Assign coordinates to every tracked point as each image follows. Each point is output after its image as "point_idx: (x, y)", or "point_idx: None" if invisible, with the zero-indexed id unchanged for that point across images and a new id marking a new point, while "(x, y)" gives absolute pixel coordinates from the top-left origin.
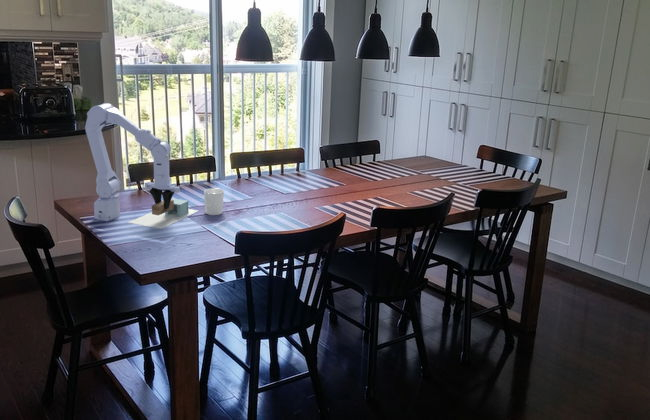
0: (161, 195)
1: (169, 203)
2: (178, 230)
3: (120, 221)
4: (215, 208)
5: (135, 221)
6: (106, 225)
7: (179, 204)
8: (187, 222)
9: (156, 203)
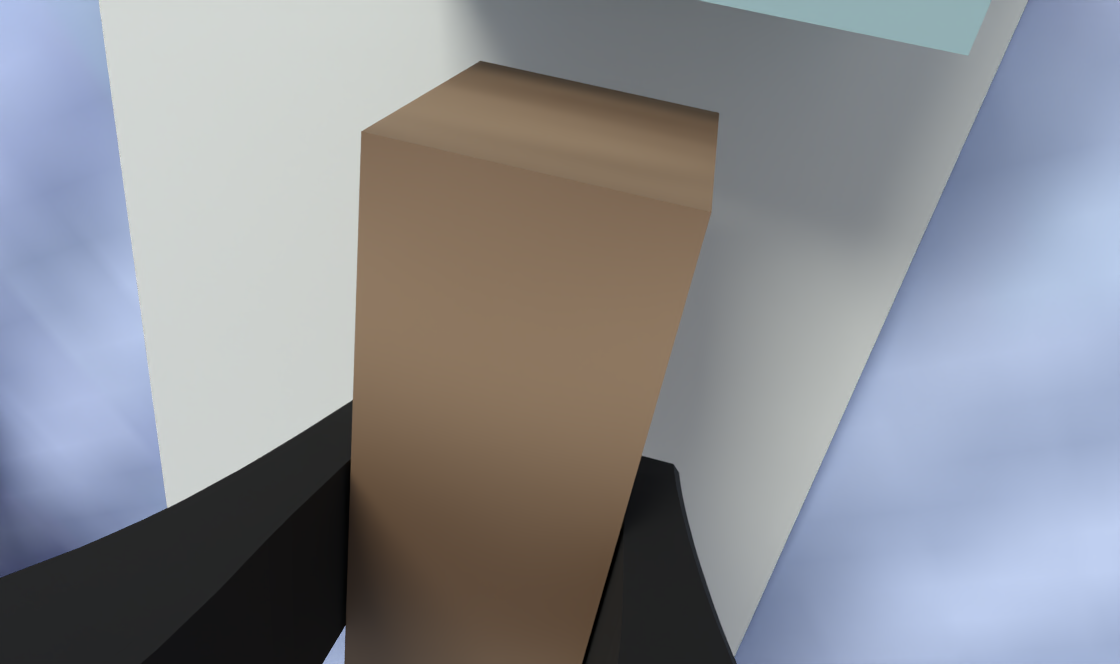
0: (210, 600)
1: (690, 569)
2: (987, 619)
3: (25, 415)
4: None
5: (225, 474)
6: (23, 561)
7: (942, 35)
8: (1109, 212)
9: (347, 656)
